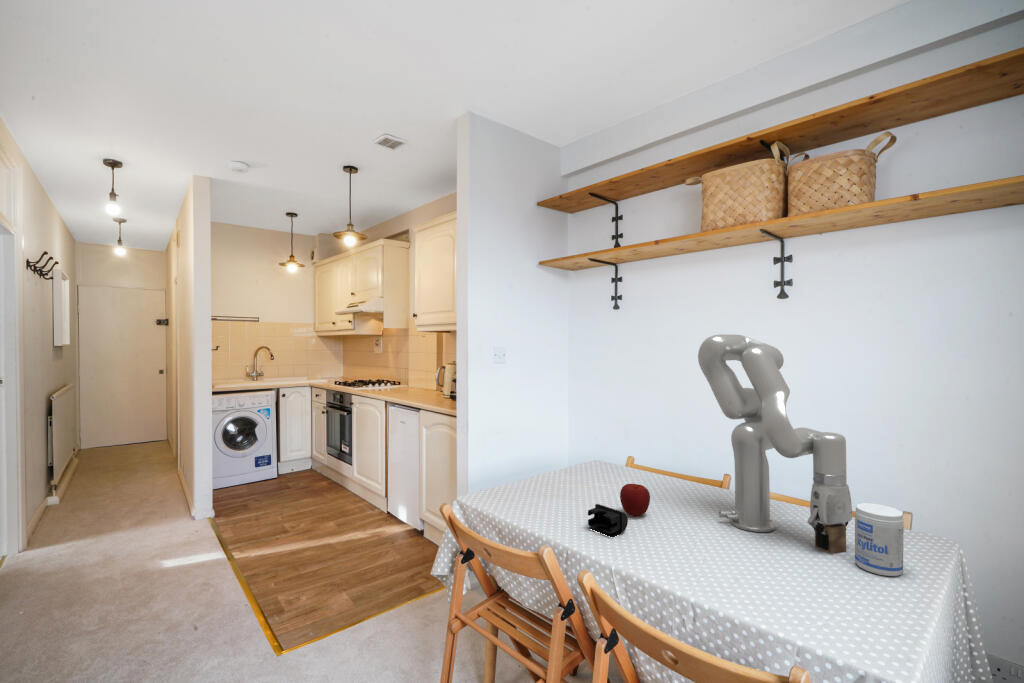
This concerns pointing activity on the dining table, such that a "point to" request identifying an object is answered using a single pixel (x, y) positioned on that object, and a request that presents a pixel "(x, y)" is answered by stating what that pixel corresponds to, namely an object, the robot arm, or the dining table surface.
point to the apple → (635, 499)
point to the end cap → (607, 520)
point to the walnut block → (835, 538)
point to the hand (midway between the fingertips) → (830, 545)
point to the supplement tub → (879, 539)
